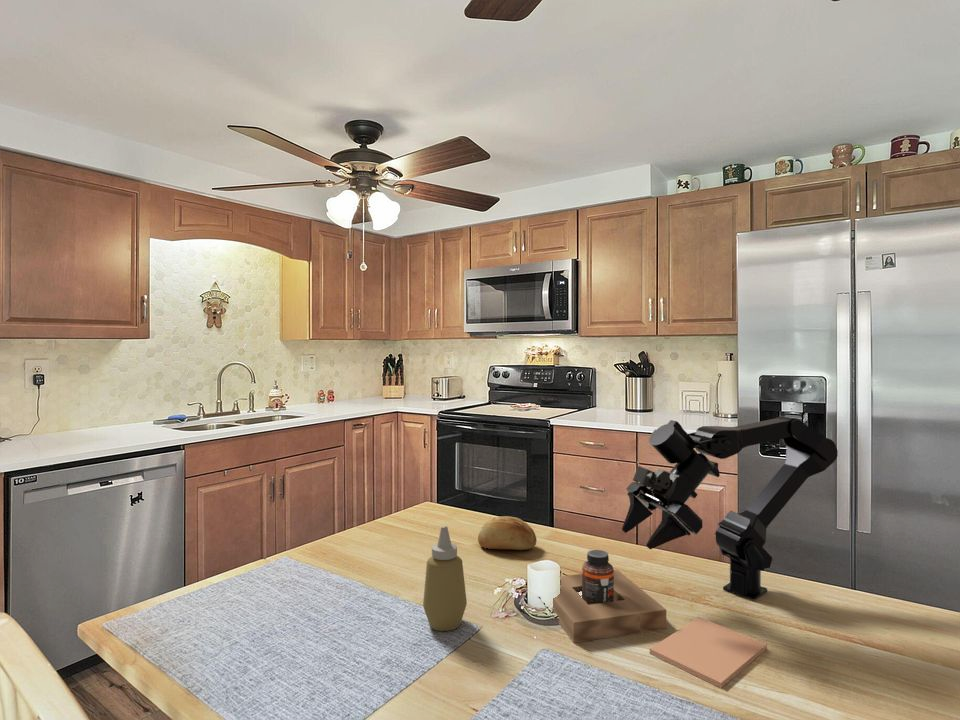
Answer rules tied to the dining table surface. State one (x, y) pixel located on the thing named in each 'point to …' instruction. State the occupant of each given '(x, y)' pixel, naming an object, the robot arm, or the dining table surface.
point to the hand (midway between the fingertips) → (635, 539)
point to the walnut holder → (607, 611)
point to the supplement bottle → (597, 578)
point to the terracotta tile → (709, 651)
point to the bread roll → (507, 534)
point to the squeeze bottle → (444, 585)
